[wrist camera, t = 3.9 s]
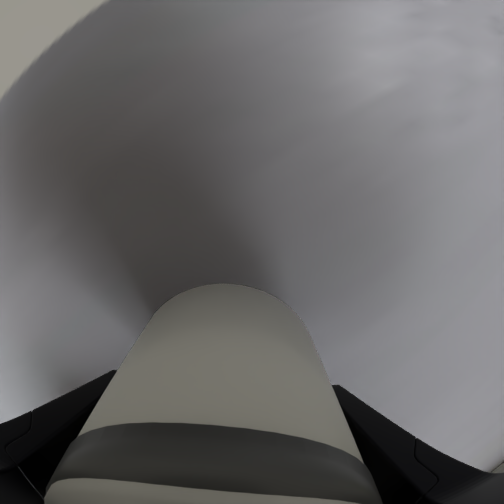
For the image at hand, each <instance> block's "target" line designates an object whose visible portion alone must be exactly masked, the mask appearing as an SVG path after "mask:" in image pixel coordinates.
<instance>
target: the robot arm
mask: <svg viewBox="0 0 504 504" xmlns="http://www.w3.org/2000/svg"><path fill="white" fill-rule="evenodd" d="M116 372H117V370H112V371H110V372H108V373H106V374H104V375H102V376H100V377H98V378H96V379H95V380H93V381H91V382H89V383H87V384H85V385H83V386H81V387H79V388H77V389H75V390H73V391H71V392H69V393H67V394H65V395H63V396H61V397H59V398H57V399H55V400H53V401H51V402H49V403H46V404H44V405H42V406H40V407H38V408H36V409H34V410H32V411H30V412H28V413H25V414H23V415H21V416H19V417H16V418H14V419H12V420H9V421H7V422H4V423H1V424H0V504H45V503H44V497H45V495H46V487H47V485H48V483H49V481H50V479H51V477H52V475H53V474H54V472H55V470H56V468H57V466H58V464H59V463H60V461H61V459H62V457H63V456H64V454H65V452H66V450H67V449H68V447H69V445H70V443H71V442H72V441H73V440H75V439H76V438H77V437H78V435H79V433H80V431H81V430H82V428H83V426H84V425H85V423H86V421H87V419H88V418H89V416H90V414H91V413H92V411H93V409H94V408H95V406H96V404H97V403H98V401H99V399H100V398H101V396H102V394H103V393H104V391H105V390H106V388H107V386H108V385H109V383H110V381H111V380H112V378H113V377H114V375H115V373H116ZM332 387H333V390H334V392H335V394H336V397H337V399H338V402H339V404H340V406H341V409H342V411H343V413H344V416H345V418H346V421H347V423H348V426H349V428H350V430H351V433H352V435H353V438H354V440H355V443H356V445H357V448H358V450H359V452H360V455H361V457H362V460H363V462H364V464H365V465H366V467H367V468H368V470H369V471H370V473H371V475H372V477H373V479H374V482H375V484H376V487H377V489H378V492H379V494H380V497H381V499H382V502H383V504H504V472H503V473H488V472H484V471H481V470H479V469H476V468H474V467H472V466H469V465H467V464H465V463H463V462H460V461H458V460H456V459H454V458H452V457H450V456H448V455H446V454H444V453H442V452H440V451H438V450H436V449H434V448H433V447H431V446H429V445H428V444H426V443H424V442H423V441H421V440H420V439H418V438H416V437H415V436H413V435H412V434H410V433H409V432H407V431H406V430H404V429H402V428H401V427H399V426H398V425H396V424H395V423H393V422H392V421H390V420H389V419H387V418H386V417H384V416H383V415H381V414H380V413H379V412H377V411H376V410H374V409H373V408H371V407H370V406H368V405H367V404H365V403H364V402H363V401H361V400H360V399H358V398H357V397H356V396H354V395H353V394H351V393H350V392H348V391H347V390H346V389H344V388H343V387H341V386H340V385H332Z"/></svg>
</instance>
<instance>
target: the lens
mask: <svg viewBox="0 0 504 504" xmlns="http://www.w3.org/2000/svg"><path fill="white" fill-rule="evenodd" d="M44 503H45V504H383V502H382V499H381V497H380V494H379V492H378V489H377V487H376V484H375V482H374V479H373V477H372V475H371V473H370V471H369V470H368V468H367V467H366V465H365V464H364V462H363V460H362V457H361V455H360V452H359V450H358V448H357V445H356V443H355V440H354V438H353V435H352V433H351V430H350V428H349V426H348V423H347V421H346V418H345V416H344V413H343V411H342V409H341V406H340V404H339V402H338V399H337V397H336V394H335V392H334V390H333V387H332V385H331V383H330V380H329V378H328V375H327V373H326V371H325V368H324V366H323V364H322V361H321V359H320V357H319V354H318V352H317V350H316V348H315V345H314V343H313V341H312V338H311V336H310V334H309V331H308V330H307V328H306V326H305V324H304V323H303V321H302V320H301V319H300V317H299V316H298V315H297V314H296V313H295V312H294V311H293V310H292V309H291V308H290V307H289V306H288V305H286V304H285V303H284V302H282V301H281V300H280V299H278V298H276V297H274V296H272V295H270V294H269V293H266V292H264V291H261V290H259V289H256V288H252V287H248V286H244V285H236V284H211V285H203V286H199V287H195V288H192V289H189V290H187V291H184V292H182V293H180V294H178V295H176V296H174V297H173V298H171V299H170V300H168V301H167V302H166V303H164V304H163V305H162V306H161V307H160V308H159V309H158V310H157V311H156V312H155V314H154V315H153V317H152V318H151V320H150V321H149V322H148V324H147V325H146V327H145V329H144V330H143V332H142V333H141V335H140V336H139V338H138V339H137V341H136V342H135V344H134V345H133V347H132V348H131V350H130V351H129V353H128V355H127V356H126V358H125V359H124V361H123V362H122V364H121V366H120V367H119V369H118V370H117V372H116V373H115V375H114V377H113V378H112V380H111V381H110V383H109V385H108V386H107V388H106V390H105V391H104V393H103V394H102V396H101V398H100V399H99V401H98V403H97V404H96V406H95V408H94V409H93V411H92V413H91V414H90V416H89V418H88V419H87V421H86V423H85V425H84V426H83V428H82V430H81V431H80V433H79V435H78V437H77V438H76V439H75V440H73V441H72V442H71V443H70V445H69V447H68V449H67V450H66V452H65V454H64V456H63V457H62V459H61V461H60V463H59V464H58V466H57V468H56V470H55V472H54V474H53V475H52V477H51V479H50V481H49V483H48V485H47V487H46V495H45V497H44Z"/></svg>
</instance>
